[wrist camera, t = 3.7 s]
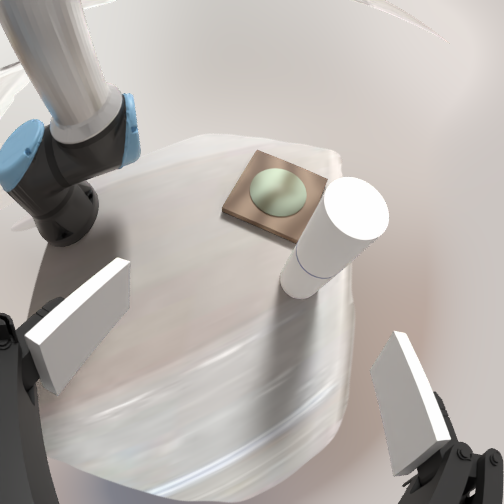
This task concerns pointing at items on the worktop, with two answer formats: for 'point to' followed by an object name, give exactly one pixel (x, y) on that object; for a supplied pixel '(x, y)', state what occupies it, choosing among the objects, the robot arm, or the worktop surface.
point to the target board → (275, 196)
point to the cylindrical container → (334, 235)
